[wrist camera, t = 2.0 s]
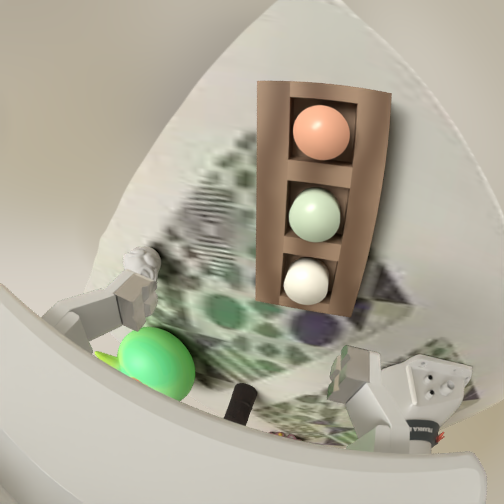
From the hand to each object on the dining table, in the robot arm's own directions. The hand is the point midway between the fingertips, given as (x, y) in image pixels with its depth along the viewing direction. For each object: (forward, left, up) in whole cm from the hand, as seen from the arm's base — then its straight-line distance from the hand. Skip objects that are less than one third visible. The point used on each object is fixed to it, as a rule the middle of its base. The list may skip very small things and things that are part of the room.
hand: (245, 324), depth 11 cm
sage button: (-1, +2, -19) cm, 19 cm away
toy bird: (+25, +36, -23) cm, 49 cm away
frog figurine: (+23, +14, -23) cm, 35 cm away
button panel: (-1, +2, -22) cm, 22 cm away
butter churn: (+7, +46, -23) cm, 52 cm away
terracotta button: (-1, -6, -19) cm, 20 cm away
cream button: (-1, +10, -19) cm, 21 cm away
